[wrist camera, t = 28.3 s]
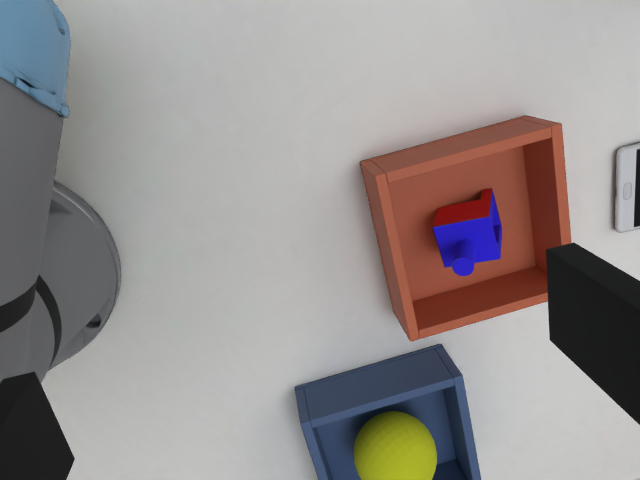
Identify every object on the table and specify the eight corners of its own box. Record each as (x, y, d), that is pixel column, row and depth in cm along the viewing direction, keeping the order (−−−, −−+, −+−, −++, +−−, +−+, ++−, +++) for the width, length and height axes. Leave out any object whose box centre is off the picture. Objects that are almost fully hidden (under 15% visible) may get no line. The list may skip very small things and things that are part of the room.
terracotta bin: (393, 312, 46) (410, 342, 42) (359, 161, 41) (374, 175, 37) (542, 269, 47) (575, 293, 42) (526, 115, 42) (562, 123, 37)
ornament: (432, 437, 51) (476, 524, 41) (365, 470, 51) (393, 564, 42) (404, 381, 48) (443, 461, 39) (333, 416, 48) (356, 504, 39)
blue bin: (330, 499, 52) (339, 543, 48) (294, 386, 47) (300, 423, 43) (463, 458, 53) (484, 498, 48) (441, 343, 48) (462, 375, 43)
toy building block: (440, 199, 44) (426, 245, 38) (492, 188, 43) (487, 234, 36) (451, 236, 46) (440, 287, 39) (502, 227, 44) (500, 279, 37)
